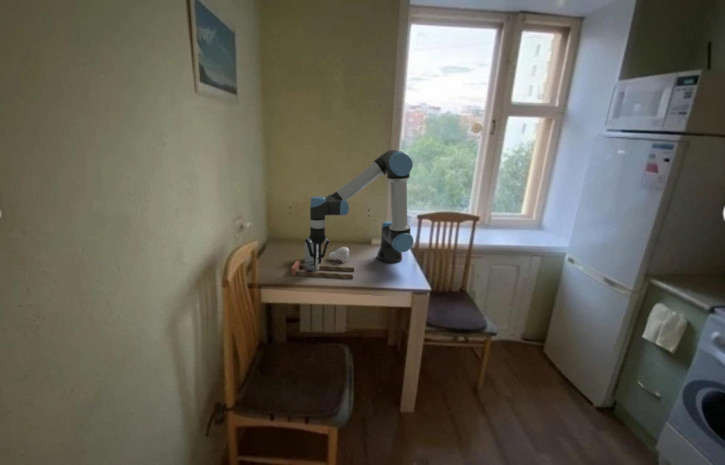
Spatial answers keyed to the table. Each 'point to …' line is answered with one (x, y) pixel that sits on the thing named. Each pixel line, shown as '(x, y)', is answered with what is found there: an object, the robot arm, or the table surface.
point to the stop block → (295, 267)
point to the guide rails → (321, 274)
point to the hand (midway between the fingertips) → (317, 269)
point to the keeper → (310, 266)
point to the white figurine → (340, 254)
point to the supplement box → (307, 255)
